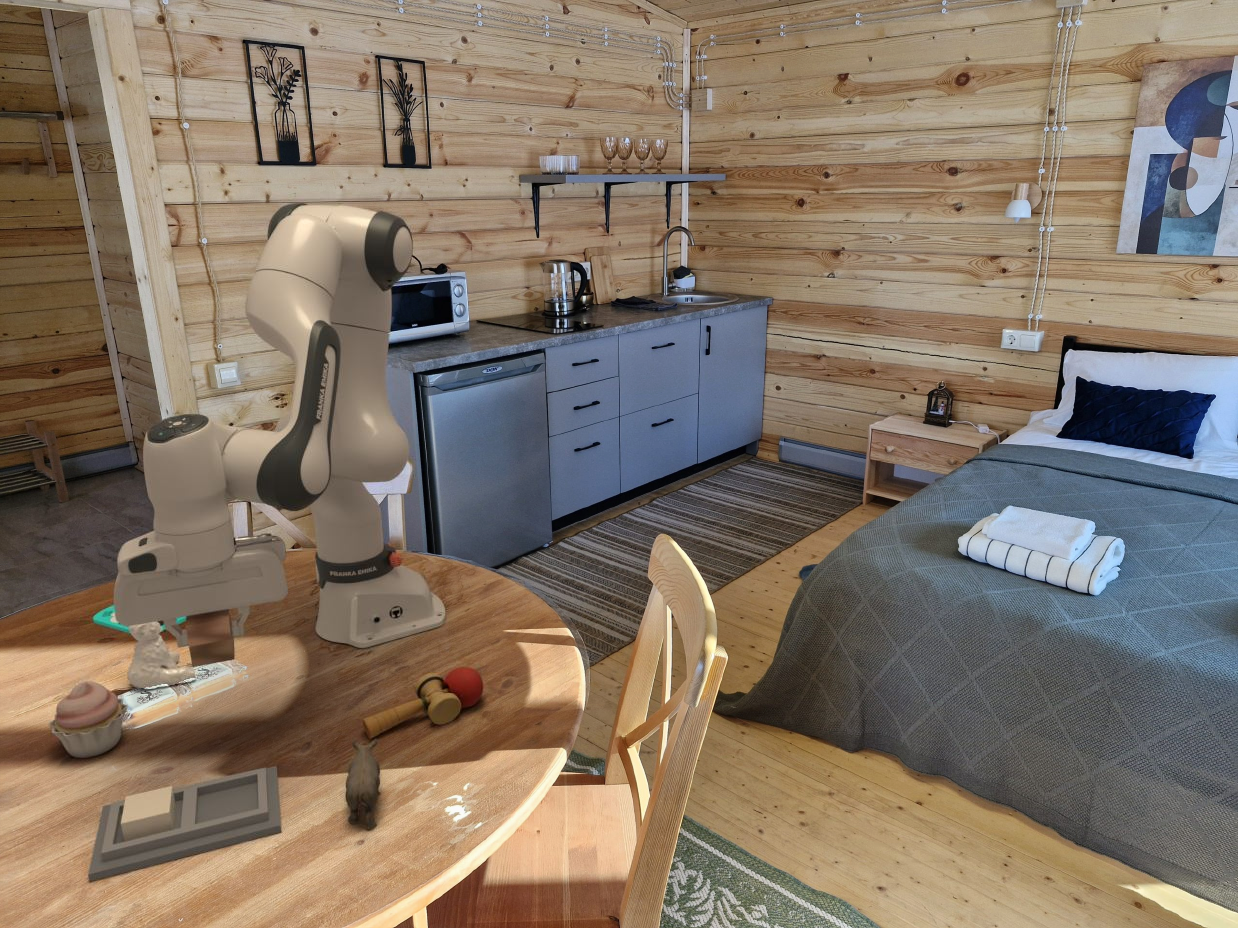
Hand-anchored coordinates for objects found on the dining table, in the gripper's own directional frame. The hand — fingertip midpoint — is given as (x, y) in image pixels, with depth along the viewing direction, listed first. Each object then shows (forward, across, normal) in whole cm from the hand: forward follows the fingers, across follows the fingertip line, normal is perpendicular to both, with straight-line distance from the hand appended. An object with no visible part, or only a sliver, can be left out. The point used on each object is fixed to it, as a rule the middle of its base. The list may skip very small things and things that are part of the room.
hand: (211, 639), depth 112 cm
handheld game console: (+18, +14, -48) cm, 53 cm away
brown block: (+2, 0, 0) cm, 2 cm away
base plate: (+17, +4, +14) cm, 22 cm away
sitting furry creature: (+17, +10, -23) cm, 31 cm away
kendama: (+18, -27, +3) cm, 32 cm away
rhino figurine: (+17, -16, +17) cm, 29 cm away
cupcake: (+17, +17, -8) cm, 26 cm away
